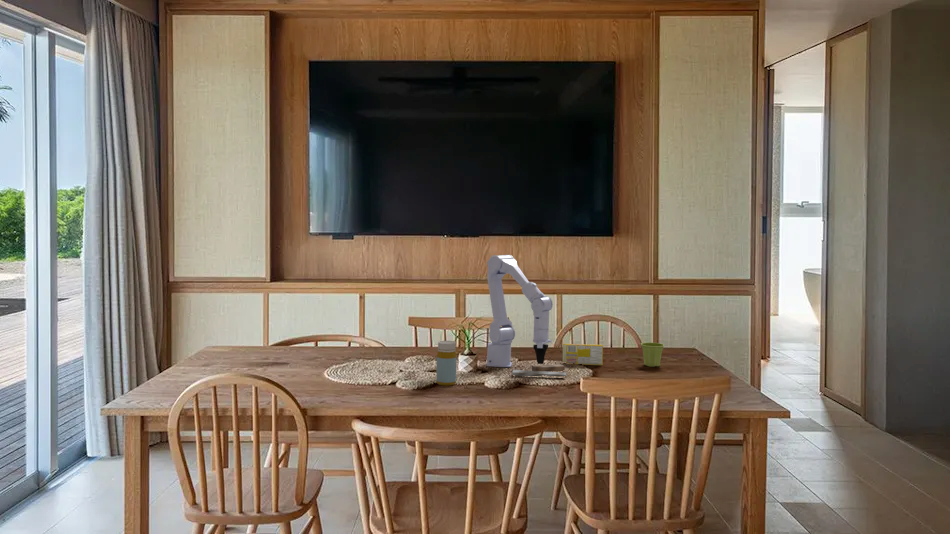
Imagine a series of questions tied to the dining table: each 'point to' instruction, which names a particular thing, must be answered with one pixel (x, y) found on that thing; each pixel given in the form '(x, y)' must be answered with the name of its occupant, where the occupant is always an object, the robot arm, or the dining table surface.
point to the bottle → (446, 363)
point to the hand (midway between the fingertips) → (540, 363)
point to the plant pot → (652, 353)
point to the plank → (548, 367)
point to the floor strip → (537, 373)
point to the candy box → (583, 354)
